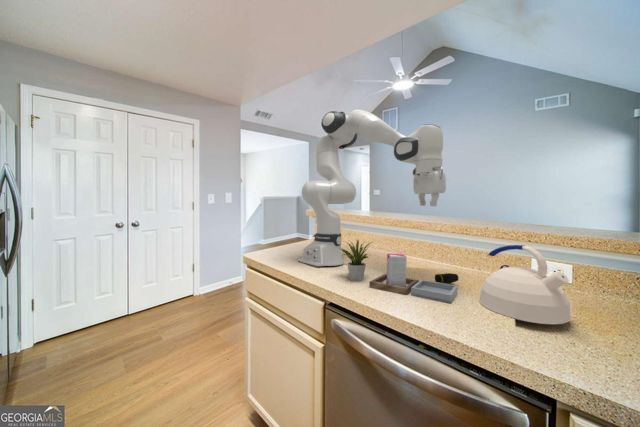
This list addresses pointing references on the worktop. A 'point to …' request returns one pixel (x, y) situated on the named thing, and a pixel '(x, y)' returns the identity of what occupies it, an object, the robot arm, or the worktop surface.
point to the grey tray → (435, 291)
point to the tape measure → (446, 278)
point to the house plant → (356, 261)
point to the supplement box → (396, 269)
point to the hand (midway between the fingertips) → (427, 205)
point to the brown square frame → (392, 288)
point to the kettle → (526, 291)
